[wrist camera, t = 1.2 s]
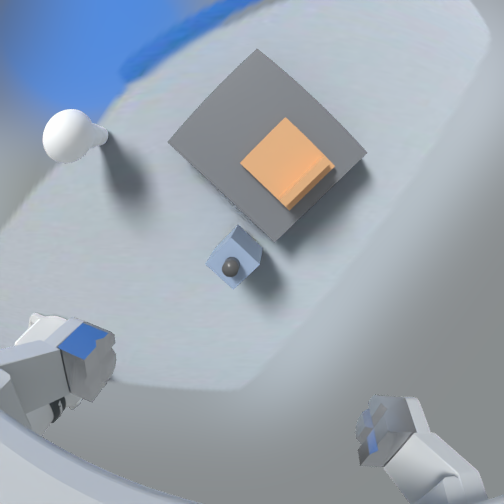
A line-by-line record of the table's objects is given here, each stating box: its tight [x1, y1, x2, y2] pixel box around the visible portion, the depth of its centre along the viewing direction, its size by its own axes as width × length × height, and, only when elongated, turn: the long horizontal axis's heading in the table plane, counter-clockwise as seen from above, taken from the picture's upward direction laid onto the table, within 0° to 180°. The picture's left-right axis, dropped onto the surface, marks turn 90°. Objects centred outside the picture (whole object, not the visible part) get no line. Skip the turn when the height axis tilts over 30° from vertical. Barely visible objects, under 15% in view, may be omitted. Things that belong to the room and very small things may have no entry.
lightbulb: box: [43, 109, 108, 164], centre depth 30 cm, size 6×6×11 cm
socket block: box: [168, 49, 367, 243], centre depth 33 cm, size 14×16×4 cm
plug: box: [205, 225, 263, 289], centre depth 35 cm, size 4×4×8 cm
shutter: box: [240, 117, 335, 211], centre depth 30 cm, size 7×7×3 cm
